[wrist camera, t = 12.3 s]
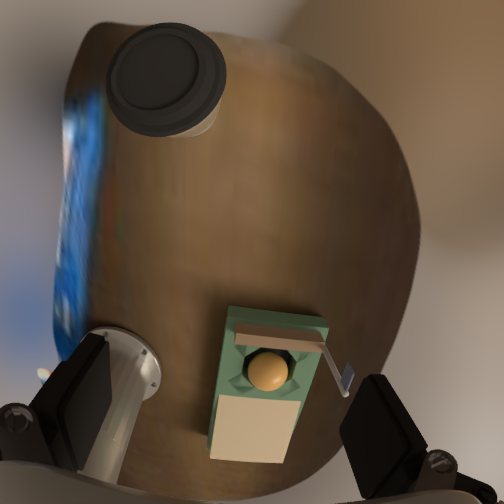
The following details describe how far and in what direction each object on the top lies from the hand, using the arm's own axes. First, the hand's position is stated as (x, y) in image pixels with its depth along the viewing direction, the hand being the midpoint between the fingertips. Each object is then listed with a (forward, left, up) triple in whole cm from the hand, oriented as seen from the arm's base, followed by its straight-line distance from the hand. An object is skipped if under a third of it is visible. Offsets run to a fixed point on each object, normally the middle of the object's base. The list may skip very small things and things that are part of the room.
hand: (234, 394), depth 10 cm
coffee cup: (+4, +15, -27) cm, 31 cm away
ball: (-6, -16, -24) cm, 29 cm away
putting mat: (-10, -19, -27) cm, 34 cm away
